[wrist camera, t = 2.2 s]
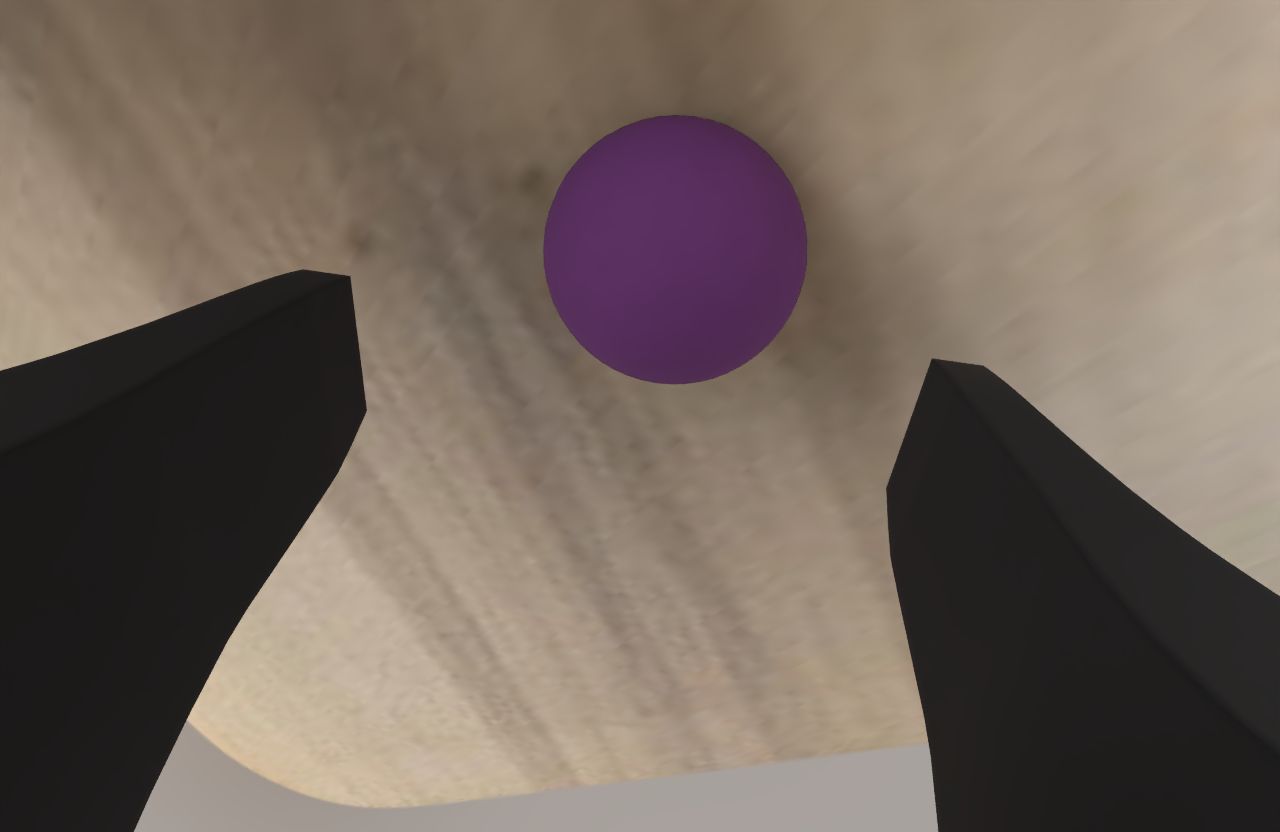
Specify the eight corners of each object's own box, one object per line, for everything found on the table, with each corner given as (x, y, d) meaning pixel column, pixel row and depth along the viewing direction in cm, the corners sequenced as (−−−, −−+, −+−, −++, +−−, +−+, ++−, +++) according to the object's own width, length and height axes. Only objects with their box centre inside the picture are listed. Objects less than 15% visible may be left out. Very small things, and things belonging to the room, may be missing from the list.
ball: (703, 347, 20) (689, 479, 16) (528, 225, 18) (463, 333, 14) (851, 187, 17) (880, 295, 13) (659, 30, 16) (625, 96, 12)
